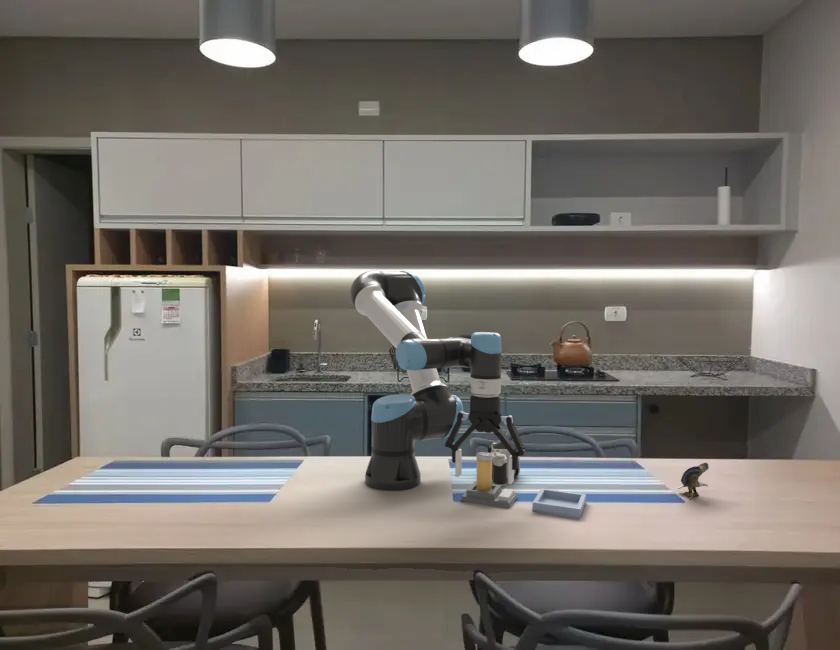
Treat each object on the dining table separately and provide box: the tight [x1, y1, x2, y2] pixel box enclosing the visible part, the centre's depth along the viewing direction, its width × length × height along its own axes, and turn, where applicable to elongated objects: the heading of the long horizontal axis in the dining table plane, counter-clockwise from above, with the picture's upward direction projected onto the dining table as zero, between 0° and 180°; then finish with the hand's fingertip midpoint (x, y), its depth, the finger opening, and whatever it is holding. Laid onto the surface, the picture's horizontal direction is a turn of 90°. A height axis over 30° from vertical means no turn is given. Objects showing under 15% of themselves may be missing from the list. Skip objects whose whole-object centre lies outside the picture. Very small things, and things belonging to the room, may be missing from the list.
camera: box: [487, 441, 521, 487], centre depth 165 cm, size 16×9×10 cm, turn 179°
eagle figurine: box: [677, 462, 710, 501], centre depth 150 cm, size 8×7×9 cm
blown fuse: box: [476, 451, 493, 492], centre depth 147 cm, size 4×4×10 cm
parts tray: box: [532, 487, 587, 519], centre depth 141 cm, size 11×11×2 cm
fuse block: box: [461, 481, 518, 509], centre depth 146 cm, size 12×8×3 cm, turn 68°
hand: (484, 478), depth 147 cm, fingers open, 13 cm apart
